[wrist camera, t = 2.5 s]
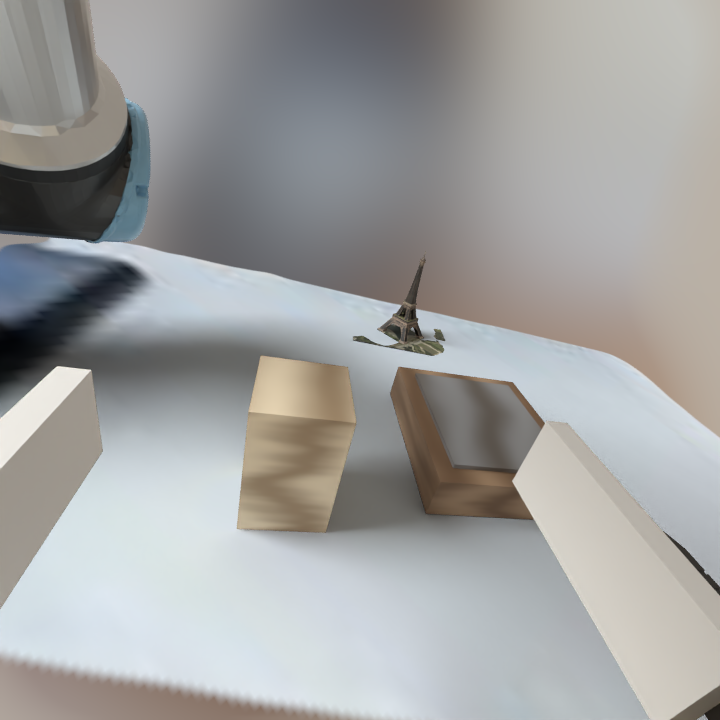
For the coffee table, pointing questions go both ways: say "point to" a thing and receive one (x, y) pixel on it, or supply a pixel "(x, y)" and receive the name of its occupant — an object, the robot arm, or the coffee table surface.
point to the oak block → (295, 445)
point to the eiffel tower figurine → (409, 326)
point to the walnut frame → (465, 441)
